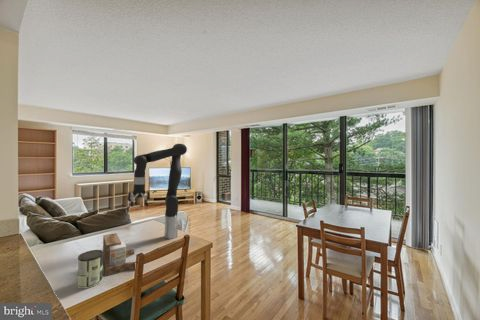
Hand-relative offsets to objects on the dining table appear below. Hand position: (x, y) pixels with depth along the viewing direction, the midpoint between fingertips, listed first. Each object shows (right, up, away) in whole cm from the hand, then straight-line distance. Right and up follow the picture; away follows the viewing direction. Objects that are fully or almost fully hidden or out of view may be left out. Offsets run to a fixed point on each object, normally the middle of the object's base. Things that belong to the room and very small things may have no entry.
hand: (138, 206), depth 150 cm
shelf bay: (+3, -28, -27) cm, 39 cm away
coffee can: (-2, -28, -45) cm, 54 cm away
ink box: (+1, -28, -28) cm, 40 cm away
